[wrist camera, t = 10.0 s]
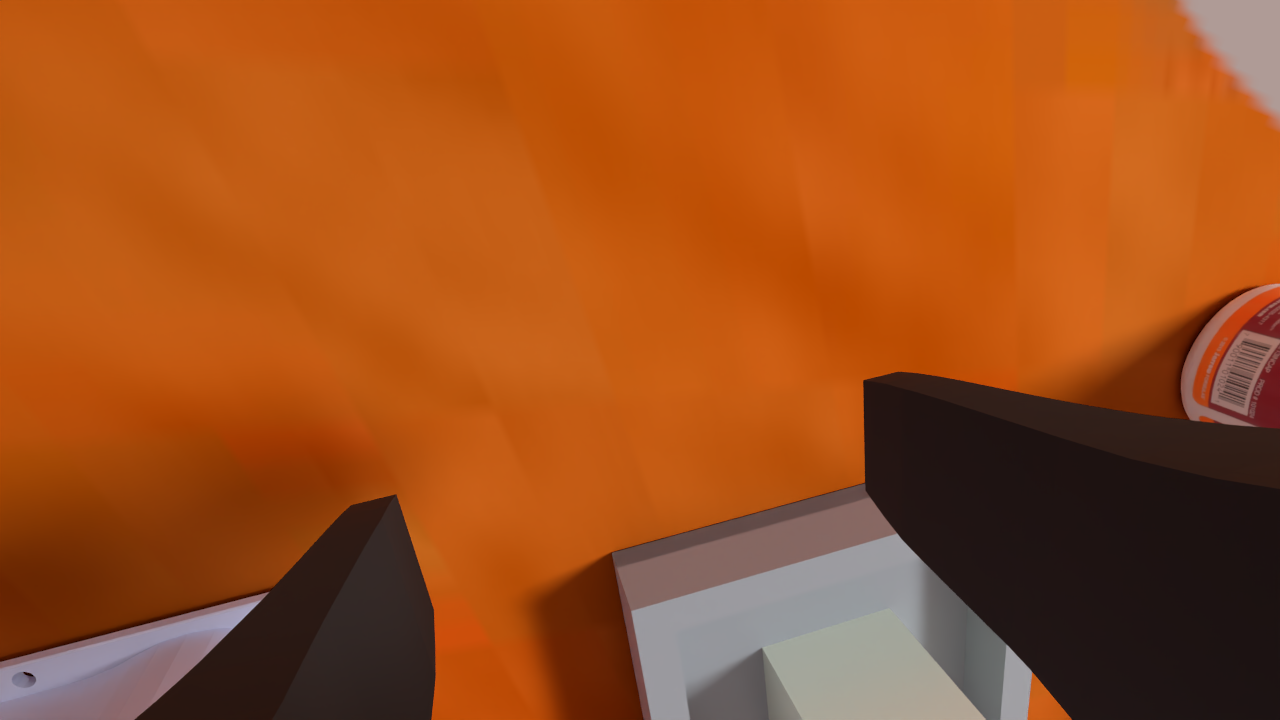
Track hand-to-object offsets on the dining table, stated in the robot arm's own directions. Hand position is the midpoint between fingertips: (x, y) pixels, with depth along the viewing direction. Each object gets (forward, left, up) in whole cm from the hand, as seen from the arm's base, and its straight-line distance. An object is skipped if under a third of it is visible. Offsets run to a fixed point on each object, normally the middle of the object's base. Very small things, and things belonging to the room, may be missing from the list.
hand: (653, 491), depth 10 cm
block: (+7, -16, -9) cm, 19 cm away
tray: (+7, -16, -9) cm, 20 cm away
